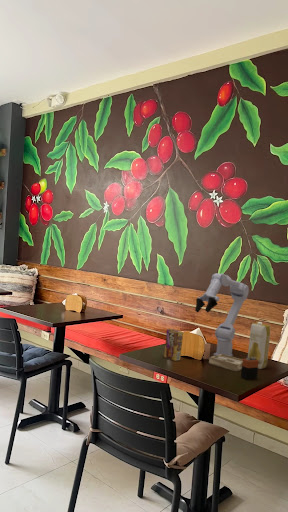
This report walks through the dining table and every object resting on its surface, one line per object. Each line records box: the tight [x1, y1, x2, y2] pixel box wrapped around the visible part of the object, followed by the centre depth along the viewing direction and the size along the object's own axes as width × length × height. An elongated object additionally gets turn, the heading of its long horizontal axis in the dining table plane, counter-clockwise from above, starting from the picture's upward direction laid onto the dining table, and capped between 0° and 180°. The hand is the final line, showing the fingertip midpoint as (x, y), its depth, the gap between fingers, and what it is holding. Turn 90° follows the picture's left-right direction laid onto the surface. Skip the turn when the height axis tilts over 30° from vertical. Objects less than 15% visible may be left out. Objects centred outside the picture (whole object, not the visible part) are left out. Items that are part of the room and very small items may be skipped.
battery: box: [240, 357, 259, 381], centre depth 202 cm, size 4×7×10 cm, turn 119°
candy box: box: [164, 328, 184, 362], centre depth 225 cm, size 9×4×15 cm, turn 39°
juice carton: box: [247, 321, 271, 370], centre depth 225 cm, size 9×8×24 cm
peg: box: [202, 342, 211, 360], centre depth 232 cm, size 4×4×8 cm
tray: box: [208, 354, 244, 372], centre depth 221 cm, size 13×16×4 cm
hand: (201, 311), depth 222 cm, fingers open, 7 cm apart
